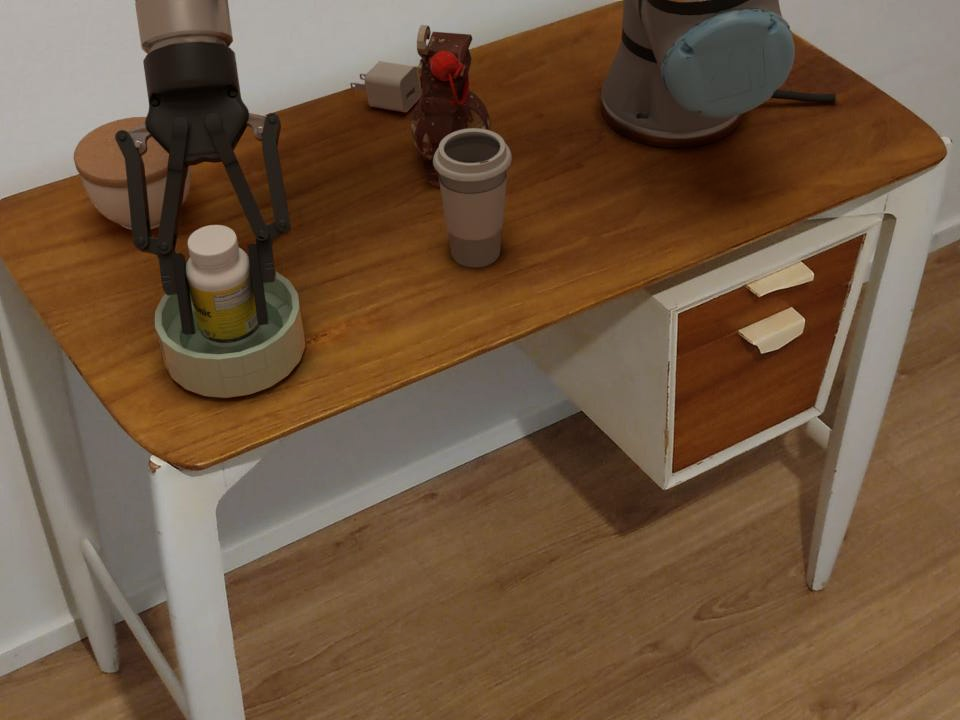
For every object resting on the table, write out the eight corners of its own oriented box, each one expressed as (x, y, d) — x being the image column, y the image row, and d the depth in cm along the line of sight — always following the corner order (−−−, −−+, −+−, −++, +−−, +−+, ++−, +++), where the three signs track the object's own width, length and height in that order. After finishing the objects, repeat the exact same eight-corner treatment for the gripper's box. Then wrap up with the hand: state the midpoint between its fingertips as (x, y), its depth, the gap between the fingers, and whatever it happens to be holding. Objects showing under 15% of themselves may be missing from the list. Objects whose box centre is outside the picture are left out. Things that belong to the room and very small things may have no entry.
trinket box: (177, 251, 125) (158, 170, 118) (73, 239, 127) (49, 158, 120) (216, 186, 132) (200, 106, 126) (117, 175, 134) (97, 97, 128)
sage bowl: (300, 298, 119) (293, 256, 116) (311, 390, 110) (304, 347, 107) (165, 316, 118) (155, 273, 114) (165, 411, 109) (154, 367, 106)
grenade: (479, 194, 130) (475, 61, 120) (401, 185, 132) (390, 54, 121) (498, 141, 137) (496, 11, 127) (423, 134, 138) (415, 5, 128)
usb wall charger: (416, 63, 140) (421, 96, 143) (361, 55, 143) (367, 88, 146) (398, 81, 138) (404, 114, 140) (343, 73, 141) (349, 105, 143)
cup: (454, 283, 120) (449, 176, 112) (427, 242, 125) (420, 136, 117) (524, 262, 122) (524, 155, 114) (495, 223, 127) (493, 118, 119)
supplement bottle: (192, 318, 113) (171, 228, 107) (252, 301, 115) (235, 211, 108) (208, 356, 110) (187, 266, 103) (270, 338, 111) (254, 248, 105)
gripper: (300, 51, 113) (337, 316, 112) (84, 75, 111) (120, 345, 110) (298, 26, 105) (337, 310, 105) (65, 51, 103) (104, 341, 103)
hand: (226, 327), depth 107 cm, fingers closed on supplement bottle, 5 cm apart
